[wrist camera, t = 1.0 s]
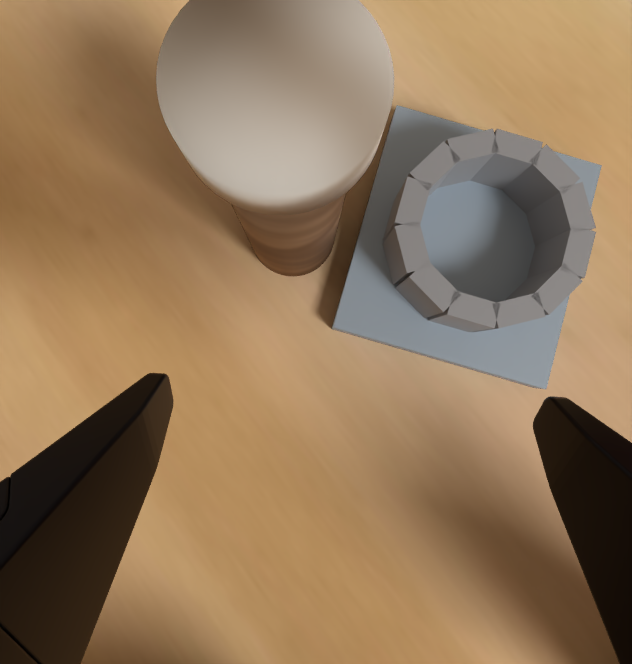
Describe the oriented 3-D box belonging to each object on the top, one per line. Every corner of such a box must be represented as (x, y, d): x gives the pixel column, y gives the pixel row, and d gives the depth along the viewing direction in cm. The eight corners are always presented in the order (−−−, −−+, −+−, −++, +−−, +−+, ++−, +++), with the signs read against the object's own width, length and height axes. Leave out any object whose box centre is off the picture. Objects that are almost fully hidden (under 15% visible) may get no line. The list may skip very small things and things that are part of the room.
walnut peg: (304, 307, 23) (301, 241, 10) (219, 245, 23) (106, 100, 10) (365, 224, 23) (440, 56, 10) (281, 164, 23) (251, -78, 10)
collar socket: (533, 387, 23) (584, 394, 19) (331, 328, 23) (337, 322, 19) (586, 175, 24) (646, 136, 20) (392, 117, 24) (410, 66, 19)
